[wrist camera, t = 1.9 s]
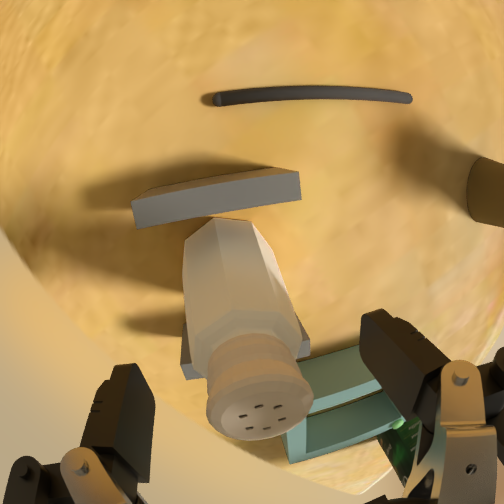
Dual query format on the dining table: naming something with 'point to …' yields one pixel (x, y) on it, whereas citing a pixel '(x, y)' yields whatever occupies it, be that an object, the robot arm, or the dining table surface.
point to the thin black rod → (308, 94)
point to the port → (344, 418)
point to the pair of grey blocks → (212, 202)
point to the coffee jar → (401, 447)
